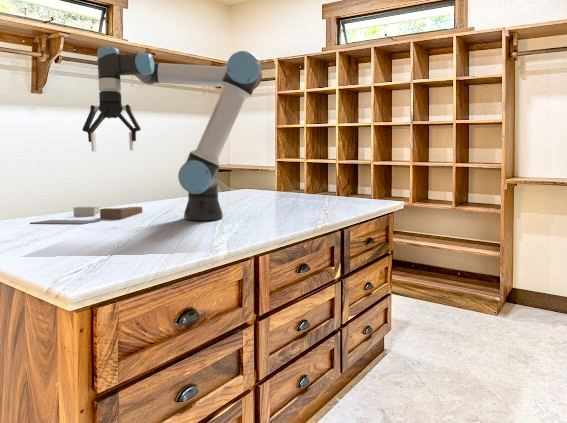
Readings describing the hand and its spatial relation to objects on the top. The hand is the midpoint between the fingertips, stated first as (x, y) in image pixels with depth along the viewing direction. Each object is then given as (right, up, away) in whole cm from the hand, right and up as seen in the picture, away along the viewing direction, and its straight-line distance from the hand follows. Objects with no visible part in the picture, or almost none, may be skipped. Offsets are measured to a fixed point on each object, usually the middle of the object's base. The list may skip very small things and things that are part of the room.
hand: (112, 151), depth 173 cm
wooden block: (-5, -23, +12) cm, 27 cm away
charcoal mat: (-18, -26, +3) cm, 32 cm away
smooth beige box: (-19, -25, +23) cm, 39 cm away
